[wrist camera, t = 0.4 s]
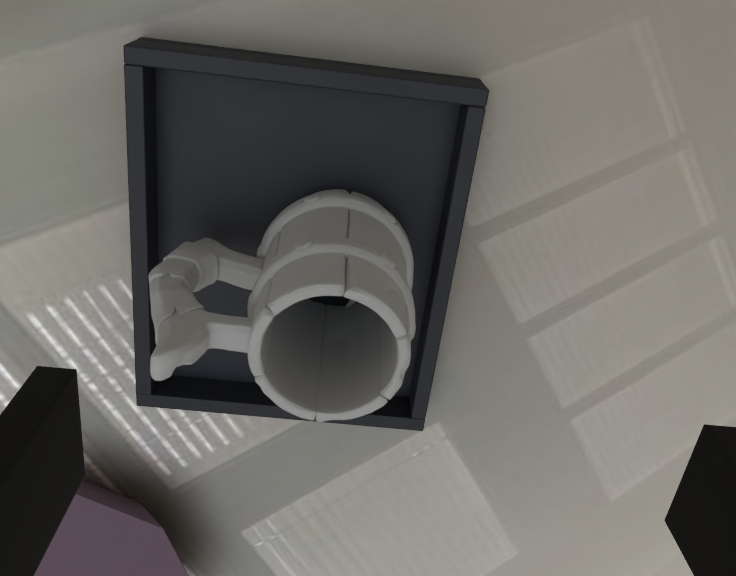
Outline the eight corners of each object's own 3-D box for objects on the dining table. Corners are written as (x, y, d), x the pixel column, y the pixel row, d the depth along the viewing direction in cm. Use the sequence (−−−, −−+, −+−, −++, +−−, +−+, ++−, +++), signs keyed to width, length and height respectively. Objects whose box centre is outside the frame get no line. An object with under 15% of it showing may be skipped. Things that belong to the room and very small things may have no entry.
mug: (398, 327, 37) (413, 483, 27) (177, 298, 36) (102, 448, 26) (425, 194, 34) (455, 312, 23) (182, 159, 33) (98, 264, 22)
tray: (140, 36, 31) (123, 44, 29) (480, 78, 32) (490, 89, 30) (149, 378, 39) (136, 406, 37) (419, 403, 40) (423, 431, 38)
